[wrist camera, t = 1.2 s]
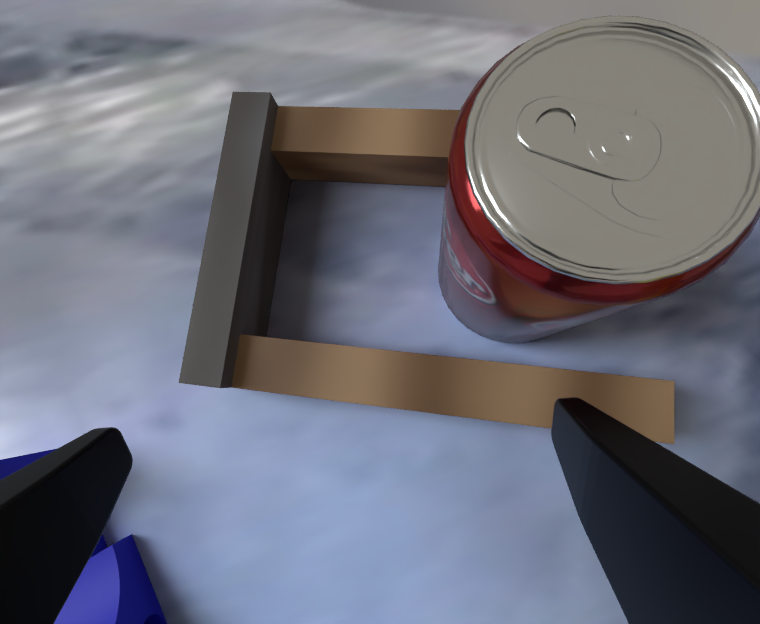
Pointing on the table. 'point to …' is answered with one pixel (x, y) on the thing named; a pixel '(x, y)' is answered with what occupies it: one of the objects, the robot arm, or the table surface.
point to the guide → (347, 363)
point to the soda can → (596, 176)
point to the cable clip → (105, 578)
